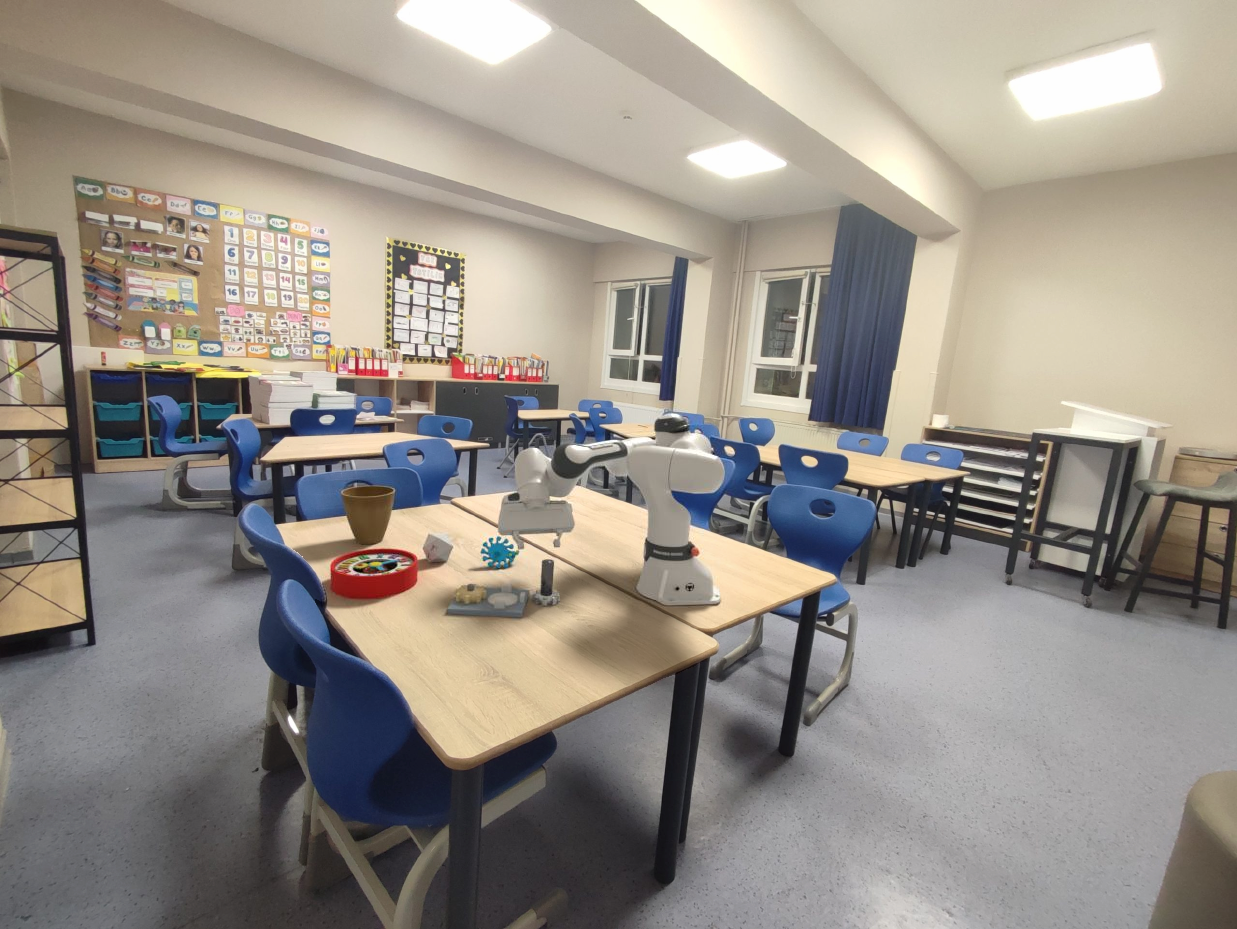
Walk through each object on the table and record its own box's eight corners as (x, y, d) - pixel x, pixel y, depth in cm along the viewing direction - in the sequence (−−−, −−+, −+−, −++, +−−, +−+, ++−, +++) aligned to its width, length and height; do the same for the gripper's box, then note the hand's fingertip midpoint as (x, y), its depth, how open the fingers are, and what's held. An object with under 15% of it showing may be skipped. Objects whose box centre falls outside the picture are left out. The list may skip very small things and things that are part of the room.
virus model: (480, 565, 146) (482, 533, 152) (476, 574, 151) (478, 542, 156) (519, 568, 150) (520, 537, 156) (514, 576, 155) (515, 546, 160)
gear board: (529, 594, 134) (530, 577, 133) (521, 617, 121) (522, 599, 120) (461, 590, 133) (462, 573, 132) (447, 613, 120) (447, 595, 120)
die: (415, 560, 152) (416, 541, 146) (434, 540, 158) (435, 520, 152) (440, 573, 152) (441, 555, 145) (457, 552, 158) (459, 533, 151)
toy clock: (318, 557, 133) (397, 543, 147) (319, 579, 134) (397, 563, 148) (347, 583, 119) (431, 565, 134) (348, 607, 120) (431, 587, 135)
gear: (560, 595, 135) (562, 557, 133) (558, 606, 128) (560, 567, 126) (534, 594, 134) (536, 556, 133) (530, 605, 128) (532, 565, 126)
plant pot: (378, 530, 174) (378, 483, 171) (404, 541, 166) (404, 491, 163) (332, 539, 162) (331, 489, 159) (358, 552, 154) (357, 498, 151)
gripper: (568, 505, 150) (575, 550, 143) (495, 507, 143) (498, 554, 136) (573, 494, 145) (580, 540, 138) (497, 496, 138) (501, 544, 131)
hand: (539, 547), depth 137 cm, fingers open, 8 cm apart
